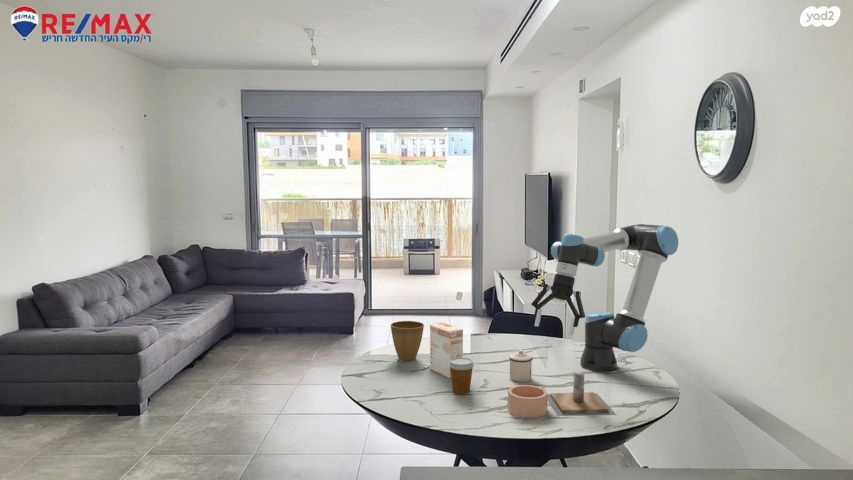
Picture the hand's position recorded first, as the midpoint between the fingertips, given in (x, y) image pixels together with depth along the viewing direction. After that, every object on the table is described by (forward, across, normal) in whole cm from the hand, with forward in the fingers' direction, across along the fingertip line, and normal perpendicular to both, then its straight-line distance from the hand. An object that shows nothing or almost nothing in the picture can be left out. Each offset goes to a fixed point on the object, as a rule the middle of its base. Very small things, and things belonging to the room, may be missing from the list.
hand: (553, 330), depth 218 cm
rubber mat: (+23, +16, -3) cm, 28 cm away
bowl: (+28, +2, -16) cm, 33 cm away
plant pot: (+30, -66, +12) cm, 74 cm away
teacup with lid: (+23, -14, +14) cm, 31 cm away
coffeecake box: (+29, -42, +5) cm, 52 cm away
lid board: (+23, +15, -3) cm, 28 cm away
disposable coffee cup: (+30, -26, -12) cm, 42 cm away
